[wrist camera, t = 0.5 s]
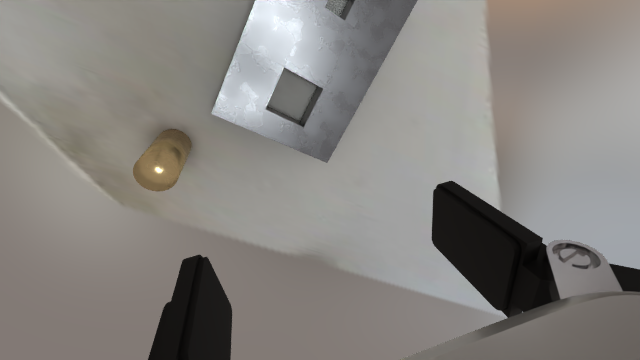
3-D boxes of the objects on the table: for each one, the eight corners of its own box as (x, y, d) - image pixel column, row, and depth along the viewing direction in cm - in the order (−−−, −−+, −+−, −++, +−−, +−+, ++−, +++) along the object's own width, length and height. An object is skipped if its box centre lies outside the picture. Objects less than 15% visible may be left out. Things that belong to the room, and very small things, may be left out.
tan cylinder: (153, 151, 39) (128, 183, 30) (162, 124, 37) (139, 149, 29) (185, 162, 40) (171, 196, 32) (195, 136, 39) (183, 163, 31)
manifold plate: (213, 108, 38) (211, 113, 36) (295, -103, 31) (300, -117, 28) (322, 155, 46) (327, 162, 43) (409, -5, 38) (422, -8, 36)
